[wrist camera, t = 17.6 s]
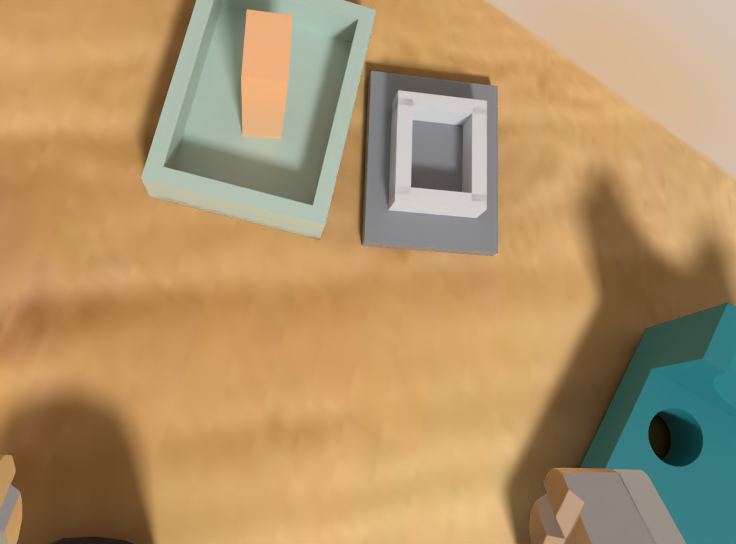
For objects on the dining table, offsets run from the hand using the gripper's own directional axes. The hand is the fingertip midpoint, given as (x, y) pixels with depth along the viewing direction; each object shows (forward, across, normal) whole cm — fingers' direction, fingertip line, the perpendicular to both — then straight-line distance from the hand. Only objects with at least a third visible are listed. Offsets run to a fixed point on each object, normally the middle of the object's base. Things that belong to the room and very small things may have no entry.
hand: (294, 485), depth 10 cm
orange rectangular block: (+36, +1, +7) cm, 37 cm away
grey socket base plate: (+35, -10, +10) cm, 38 cm away
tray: (+37, +1, +8) cm, 37 cm away
